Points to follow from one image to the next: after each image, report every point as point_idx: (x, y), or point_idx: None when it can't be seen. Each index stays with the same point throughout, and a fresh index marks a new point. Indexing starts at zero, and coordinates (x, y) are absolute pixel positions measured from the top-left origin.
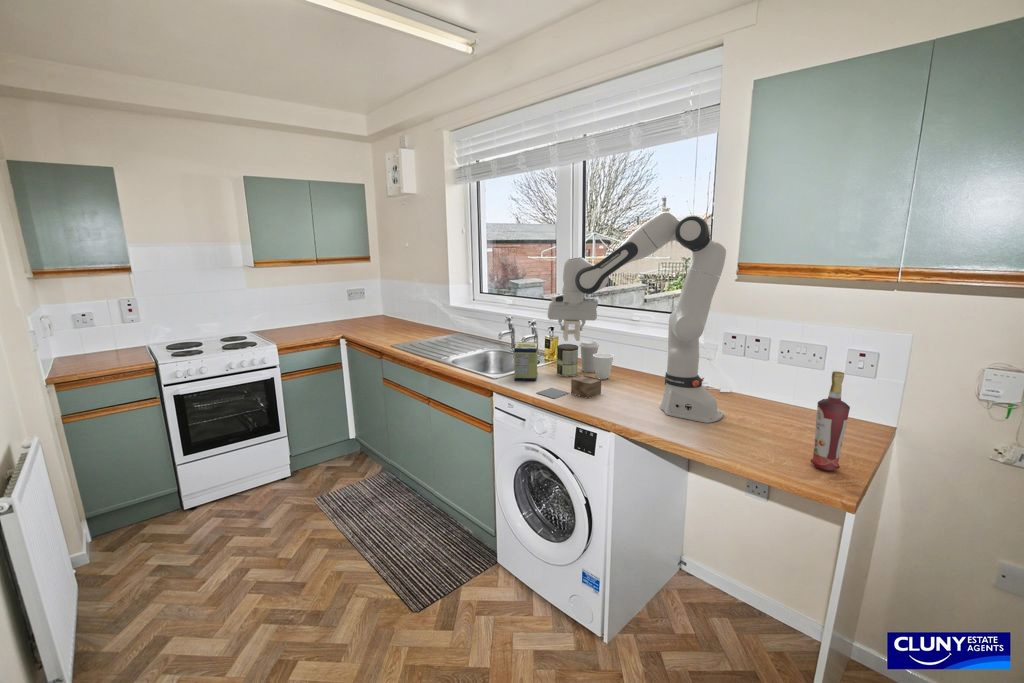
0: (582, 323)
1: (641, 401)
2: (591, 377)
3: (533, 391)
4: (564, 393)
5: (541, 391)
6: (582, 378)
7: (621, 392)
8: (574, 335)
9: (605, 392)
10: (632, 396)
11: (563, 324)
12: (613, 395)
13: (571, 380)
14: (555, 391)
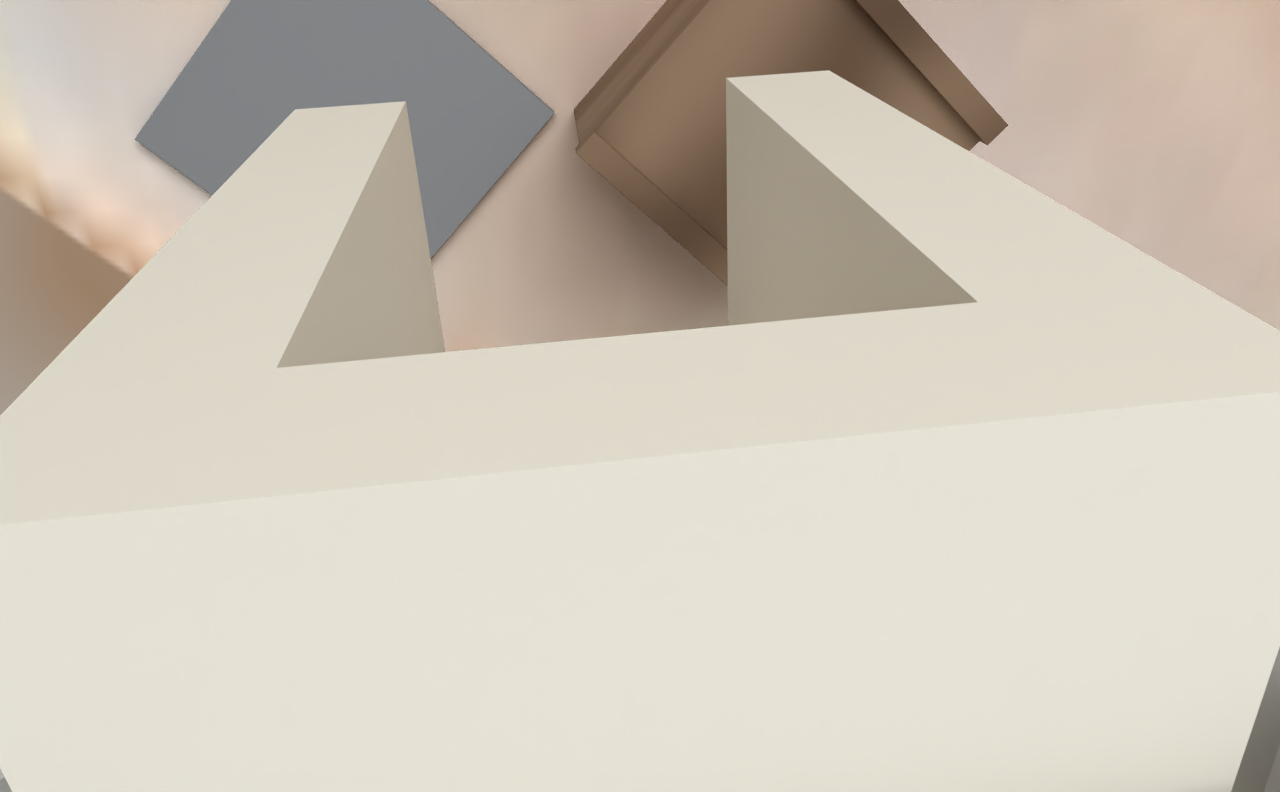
0: (1246, 756)
1: (1250, 313)
2: (886, 33)
3: (78, 49)
4: (492, 151)
5: (191, 88)
6: (748, 55)
7: (1181, 25)
8: (741, 174)
9: (994, 36)
10: (1237, 167)
11: (133, 305)
12: (1049, 146)
13: (581, 154)
14: (375, 77)
